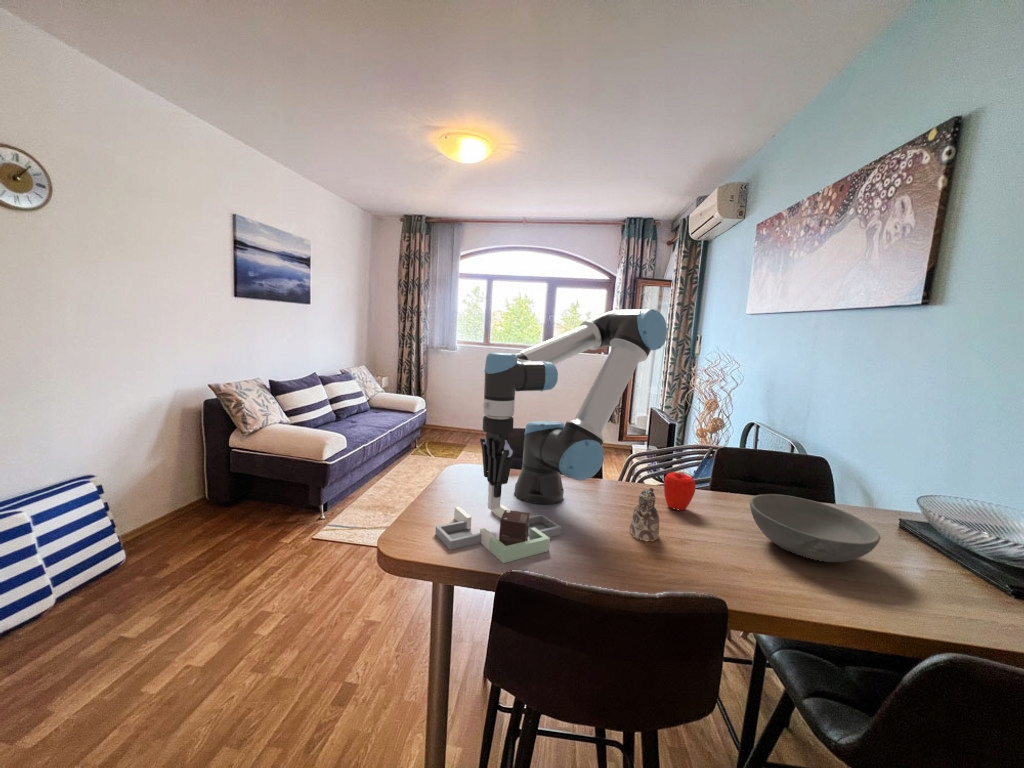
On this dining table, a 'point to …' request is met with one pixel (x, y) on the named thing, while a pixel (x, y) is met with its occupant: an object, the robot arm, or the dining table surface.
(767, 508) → the bowl
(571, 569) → the dining table surface
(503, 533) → the box
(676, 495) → the apple
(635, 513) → the figurine
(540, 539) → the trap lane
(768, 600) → the dining table surface
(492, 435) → the robot arm
